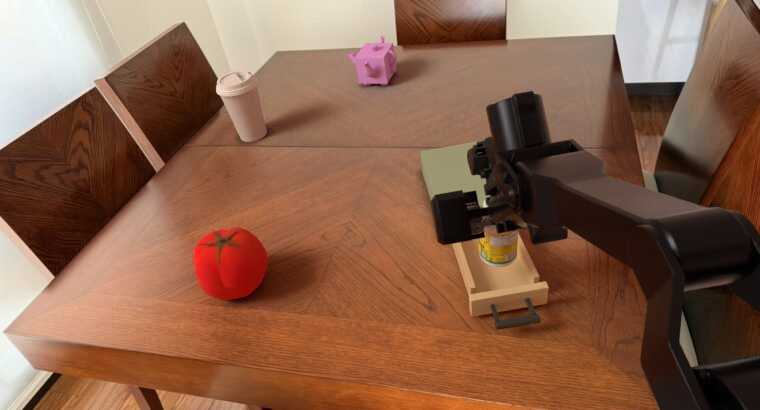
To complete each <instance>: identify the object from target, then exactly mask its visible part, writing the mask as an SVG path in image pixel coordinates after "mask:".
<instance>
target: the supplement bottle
mask: <svg viewBox="0 0 760 410" xmlns="http://www.w3.org/2000/svg"><path fill="white" fill-rule="evenodd" d="M489 197H490V196H489ZM485 207H488V206H487V205H486V202H485V200H484V202H483V208H485ZM485 218H486V219H487V220H488V218H490V220H491V217H490V216H485V217H483V220H485ZM518 233H519V230H517V231H511V232H505V233H499V234H497V230H496V225H493V226H487V227H485V228H484V234H485V238H480V239H479V255H480V258H481V259H482V260H483V261H484V262H485V263H486V264H488V265H490V266H493V267H504V266H507V265H510V264H511V263H513V262H514V260H515V259H516V257H517V246H518Z"/></svg>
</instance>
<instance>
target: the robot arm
mask: <svg viewBox="0 0 760 410" xmlns="http://www.w3.org/2000/svg"><path fill="white" fill-rule="evenodd" d="M485 111H486V116H487V121H488V126H489V130H490V136H488V137H485V139H484V140H479V141H480V142H477V141H476V142H477V144H476V145H473V148H471V149H469V150H468V152H467V161H468V164H469V168H470V172H471V174H472V175H473V176H474V175H480V177H481V179H484V178H486V184H485V185H483V186H484V191H485V195H486V196H487V195H490V197H486V198H485V202H486V205H487V206H488V207H485V208H481V207H480V205H479V203H478V198H477V193H476V190H475V191H470V192H464V193H463V191H462V190H459V191H454V192H448V193H442V194H436V195H435V196H434V197H433V198H432V200H431V199H430V203H429V204H430V208H431V214H432V218H433V219H432V220H433V225H434V229H435V236H436V240H437V243H439V244H440V245H441V246H447V245H452V244H454V243H460V242H466V241H471V240H474V239H480V238H485V234H484V228H485V227H487V226H493V225H496V230H497V234H499V233H505V232H511V231H517V230H518V231H521V230H527V231H528V236H529V240H530V244H531V245H533V246H535V245H541V244H546V243H552V242H557V241H563V240H568V237H569V231H570V232H572V233H573V234H575V235H577V236H578V237H580V238H581V239H583V240H585V241H586V242H588V243H589V244H591V245H593V246H594V247H596V249H597V248H598V250H600V251H602V252H604V253H605V254H607V255H608V256H610V257H612V258H613V259H614V260H616V261H617V262H619V263H621V264H622V265H624V266H626V267H627V268H629V269H630V270H632V272H633V274H634V276H635V278H636V281H637V282H638V285H639V287H640V290H641V291H642V293H643V295H644V297H645V300H646V311H645V318H644V326H643V334H642V341H641V349H640V357H639V359H640V366H641V367H640V368H641V369H642V371H643V374H644V376H645V378H646V380H647V383H648V386H649V387H650V390H651V392H652V395H653V398H654V399H655V401H656V404H657V406H658V408H659V409H658V410H760V354H757V355H751V356H750V355H749V356H745V357H739V358H733V359H728V360H723V361H716V362H711V363H706V364H699V365H694V366H691V364H690V361H689V359H688V357H687V355H686V353H685V350H684V349H683V347H682V345H681V341H680V340H681V331H682V330H681V328H682V320H683V319H682V316H683V307H684V306H683V305H684V296H685V292H688V291H689V292H690V291H694V290H701V289H706V288H711V287H716V286H718V287H719V286H722V285H723V286H724V285H726V287H727V288H728V289H729V290H730V291H731V292H732V293H733V294H734V295H735V296H736V297H738V298H739V299H740V300H742V301H743V302H745V303H746V304H747V305H749V306H750V307H751V308H753V309H754V310H755V311H757V312H758V313H759V314H760V232H759V231H758V229H757V227H756V226H755V225H754V223H753V222H752V221H751V220H750V219H749V218H748V216H747V215H745V214H743V213H742V212H740V211H739V210H736V209H726V208H724V207H719V206H714V207H706V206H703V205H700V204H697V203H693V202H691V201H688V200H684V199H682V198H678V197H675V196H673V195H669V194H666V193H662V192H659V191H657V190H653V189H651V188H648V187H643V186H640V185H637V184H634V183H631V182H629V181H625V180H622V179H619V178H616V177H612V176H609V175H607V163H606V162H605V161H604V160H602V159H601V158H599V157H597V156H596V155H594V154H592V153H591V152H589V151H587V150H586V149H585V148H584V147H582V145H580V143H578V141H576V140H575V139H573V138H570V139H564V140H559V141H554V142H553V141H552V137H551V133H550V128H549V122H548V118H547V114H546V109H545V105H544V100H543V96H542V95H541V94H538V93H535V92H534V90H528V91H522V92H518V93H513V94H512V96H511V97H507V98H504V99H501V100H498V101H495V103H491V104H488V105H487V106H486V107H485ZM485 216H490V217H491V220H490V218H488V220H487V219H486V218H485V220H483V217H485Z"/></svg>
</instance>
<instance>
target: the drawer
mask: <svg viewBox="0 0 760 410" xmlns="http://www.w3.org/2000/svg"><path fill="white" fill-rule="evenodd" d="M451 246H452V249H453V252H454V255H455V258H456V262H457V265H458V267H459V270H460V273H461V277H462V280H463V282H464V285H465V289H466V293H467V296H468V304H469V306H468V307H469V314H470V317H472V318H473V317H478V316H483V315H484V316H485V315H490V314H492V316H493V320H494V327H495V330H496V331H500V330H505V329H512V328H517V327H522V326H528V325H533V324H539V323H541V316H540V314H539V313H537V312H536V309H535V308H534V307H535V306H542V305H547V304H548V297H549V296H548V295H549V289H550V287H549V285H548V282H547V281H546V280H545V281H540V275H539V272H538V270H537V268H536V266H535V264H534V262H533V260H532V258H531V256H530V254H529V252H528V250H527V247H526V246H525V243H524V241H523V239H522V237H521V235H520V232H518V246H517V257H516V259H515V260H514V262H513V263H511V264H510V265H507V266H504V267H493V266H490V265H488V264H486V263H485V262H484V261H483V260H482V259H481V258H480V255H479V239H474V240H471V241H466V242H460V243H454V244H451ZM525 308H527V309H528V312H529V314H527V315H522V316H517V317H516V316H515V317H510V318H505V319H501V318H500V316H499V313H501V312H507V311H512V310H513V311H514V310H519V309H525Z"/></svg>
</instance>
